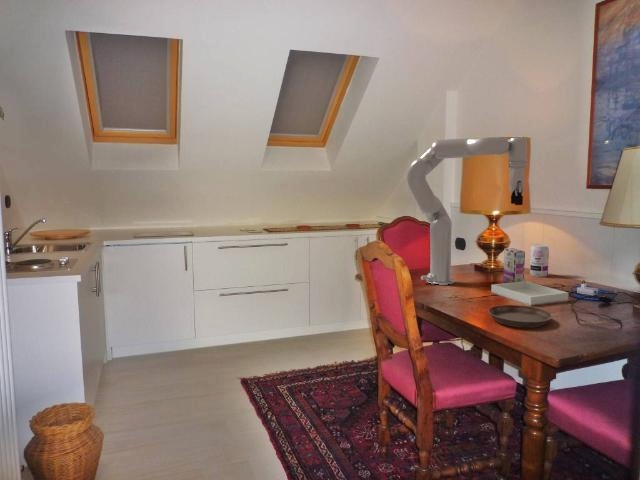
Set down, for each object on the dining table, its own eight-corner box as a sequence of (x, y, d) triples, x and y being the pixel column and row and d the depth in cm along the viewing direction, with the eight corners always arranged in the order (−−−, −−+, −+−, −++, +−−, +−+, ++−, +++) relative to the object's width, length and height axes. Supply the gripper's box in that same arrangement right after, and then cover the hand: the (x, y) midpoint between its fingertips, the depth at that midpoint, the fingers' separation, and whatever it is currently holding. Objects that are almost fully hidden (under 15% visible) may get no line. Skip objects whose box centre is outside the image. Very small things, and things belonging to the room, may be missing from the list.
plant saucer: (553, 317, 182) (554, 308, 182) (549, 333, 164) (549, 323, 164) (493, 310, 192) (494, 302, 192) (483, 326, 174) (483, 316, 174)
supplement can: (544, 274, 255) (545, 244, 253) (550, 277, 247) (551, 246, 245) (527, 274, 256) (528, 244, 254) (532, 277, 248) (533, 246, 246)
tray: (530, 306, 197) (531, 297, 196) (491, 292, 219) (491, 284, 219) (567, 301, 202) (568, 292, 202) (525, 288, 225) (525, 280, 224)
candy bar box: (524, 287, 227) (525, 251, 225) (513, 288, 227) (514, 251, 225) (513, 282, 238) (514, 247, 236) (502, 282, 238) (503, 248, 236)
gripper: (505, 166, 234) (504, 203, 236) (511, 165, 217) (511, 205, 219) (522, 165, 233) (521, 203, 235) (530, 165, 216) (529, 205, 218)
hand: (516, 204), depth 227 cm, fingers open, 9 cm apart
